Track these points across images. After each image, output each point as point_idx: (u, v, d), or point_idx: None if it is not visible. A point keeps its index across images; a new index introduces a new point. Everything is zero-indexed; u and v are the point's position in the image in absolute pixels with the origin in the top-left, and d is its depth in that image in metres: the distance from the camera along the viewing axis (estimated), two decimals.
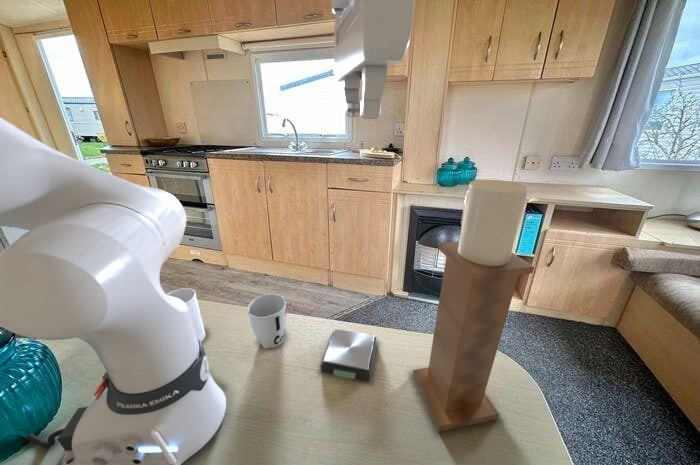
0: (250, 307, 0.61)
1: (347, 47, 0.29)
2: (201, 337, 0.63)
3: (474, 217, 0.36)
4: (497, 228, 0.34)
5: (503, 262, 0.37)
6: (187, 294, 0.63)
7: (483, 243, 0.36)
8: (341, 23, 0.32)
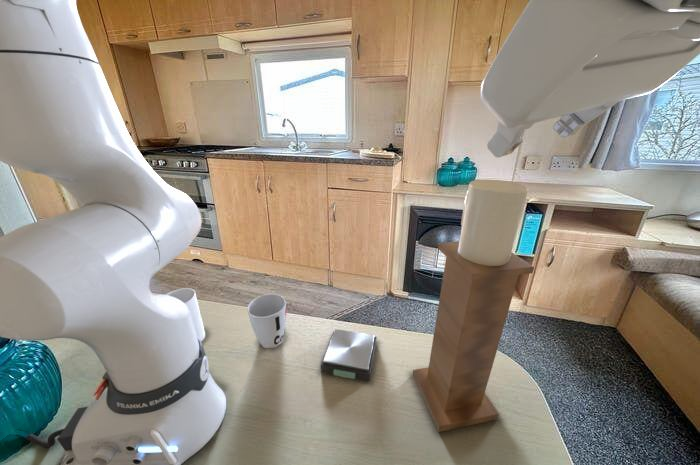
0: (250, 307, 0.61)
1: None
2: (201, 337, 0.63)
3: (474, 217, 0.36)
4: (497, 228, 0.34)
5: (503, 262, 0.37)
6: (187, 294, 0.63)
7: (483, 243, 0.36)
8: None
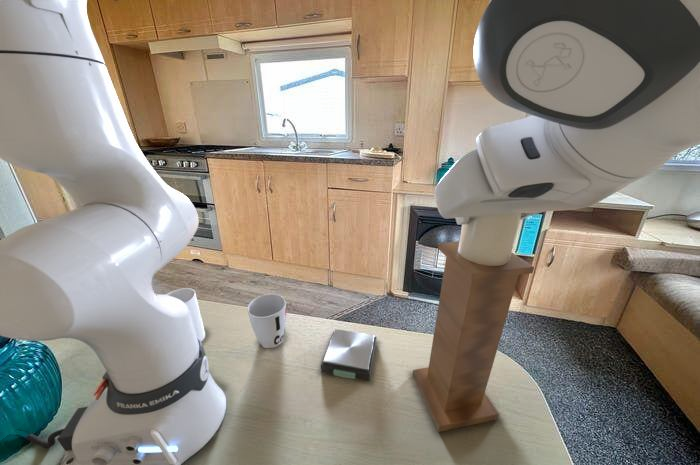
0: (250, 307, 0.61)
1: None
2: (201, 337, 0.63)
3: (474, 217, 0.36)
4: (497, 228, 0.34)
5: (503, 262, 0.37)
6: (187, 294, 0.63)
7: (483, 243, 0.36)
8: None
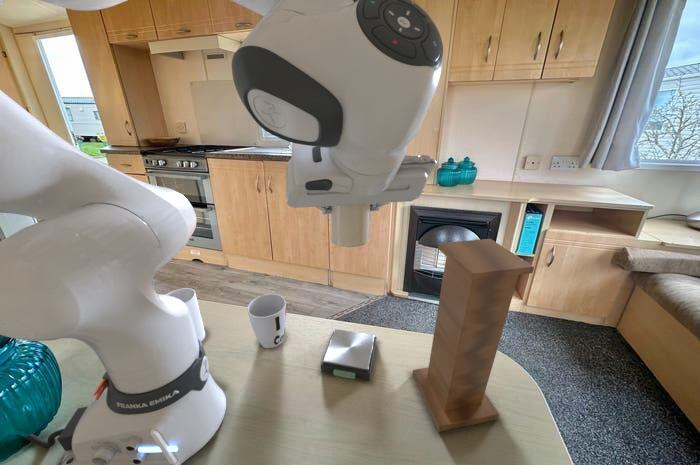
0: (250, 307, 0.61)
1: None
2: (201, 337, 0.63)
3: (331, 208, 0.45)
4: (346, 216, 0.43)
5: (358, 244, 0.46)
6: (187, 294, 0.63)
7: (339, 228, 0.45)
8: None
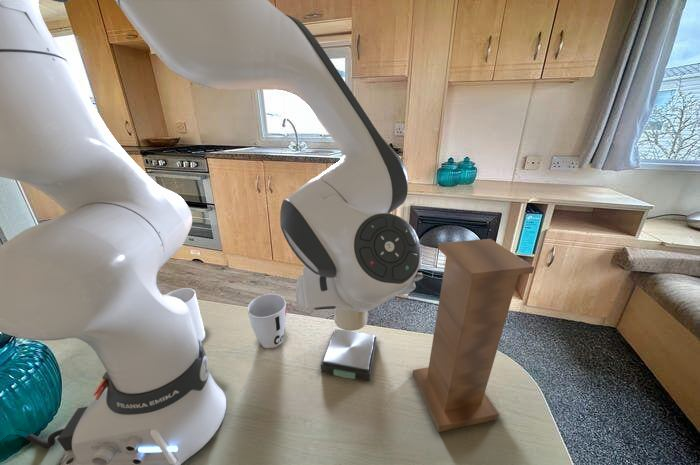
0: (250, 307, 0.61)
1: None
2: (201, 337, 0.63)
3: None
4: None
5: (358, 328, 0.53)
6: (187, 294, 0.63)
7: (341, 316, 0.52)
8: None
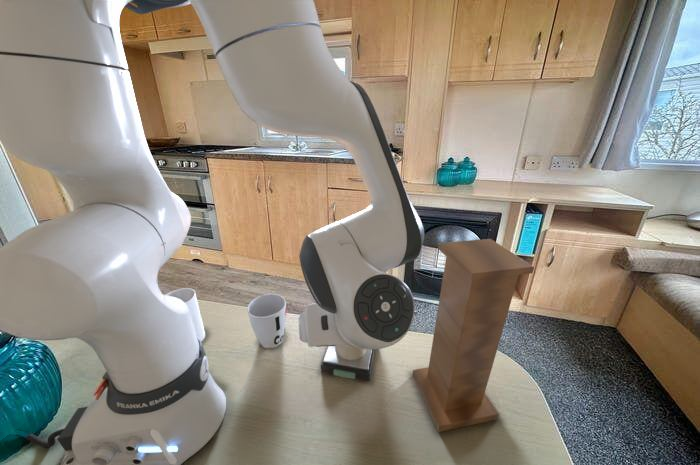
0: (250, 307, 0.61)
1: None
2: (201, 337, 0.63)
3: None
4: None
5: (357, 357, 0.56)
6: (187, 294, 0.63)
7: (341, 346, 0.55)
8: None
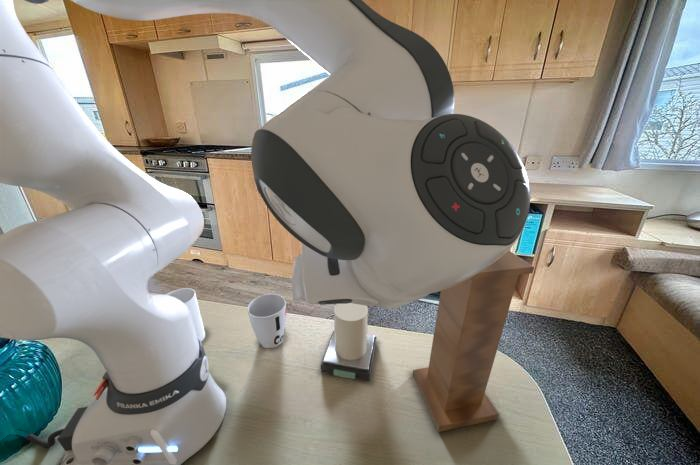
0: (250, 307, 0.61)
1: None
2: (201, 337, 0.63)
3: (336, 329, 0.55)
4: (347, 339, 0.54)
5: (357, 357, 0.56)
6: (187, 294, 0.63)
7: (341, 346, 0.55)
8: None
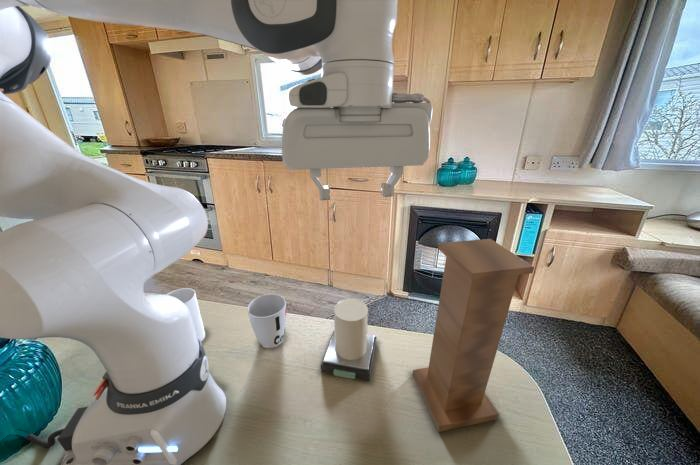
0: (250, 307, 0.61)
1: None
2: (201, 337, 0.63)
3: (336, 329, 0.55)
4: (347, 339, 0.54)
5: (357, 357, 0.56)
6: (187, 294, 0.63)
7: (341, 346, 0.55)
8: None
